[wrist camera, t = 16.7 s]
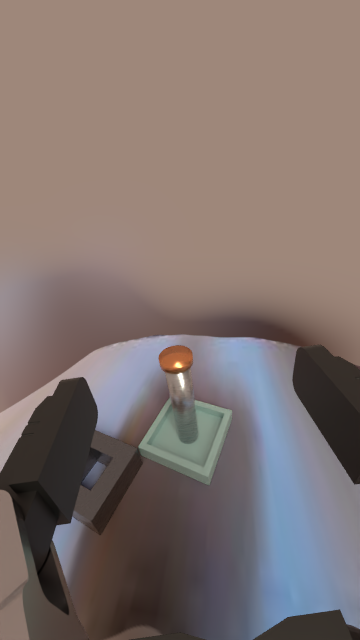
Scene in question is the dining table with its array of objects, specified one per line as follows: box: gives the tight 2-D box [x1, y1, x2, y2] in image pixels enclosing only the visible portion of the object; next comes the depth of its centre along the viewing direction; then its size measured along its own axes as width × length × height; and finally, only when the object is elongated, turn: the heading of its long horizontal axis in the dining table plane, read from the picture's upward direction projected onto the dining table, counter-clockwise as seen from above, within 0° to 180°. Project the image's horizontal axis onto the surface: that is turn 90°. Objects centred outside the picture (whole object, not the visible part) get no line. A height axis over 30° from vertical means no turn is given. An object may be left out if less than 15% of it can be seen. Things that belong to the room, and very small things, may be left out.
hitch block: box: [72, 430, 142, 535], centre depth 37 cm, size 10×10×4 cm
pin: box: [159, 345, 199, 444], centre depth 38 cm, size 5×5×17 cm
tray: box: [138, 397, 232, 485], centre depth 42 cm, size 12×12×2 cm
